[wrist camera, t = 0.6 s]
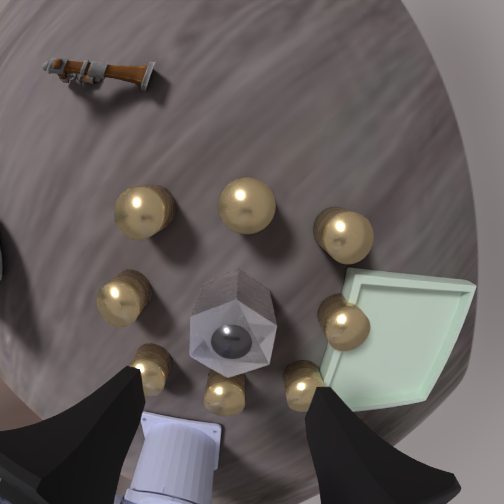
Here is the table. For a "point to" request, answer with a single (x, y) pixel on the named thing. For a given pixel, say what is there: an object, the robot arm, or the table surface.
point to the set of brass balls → (245, 222)
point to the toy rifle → (98, 71)
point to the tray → (397, 337)
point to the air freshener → (0, 265)
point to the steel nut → (233, 324)
